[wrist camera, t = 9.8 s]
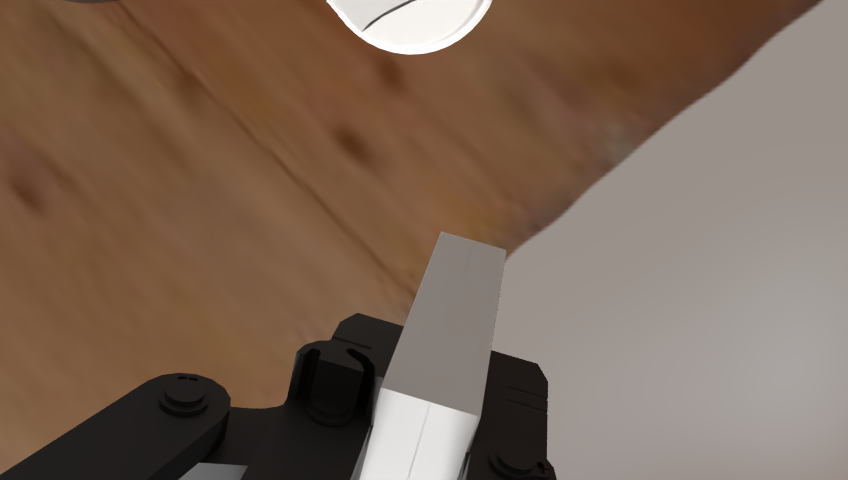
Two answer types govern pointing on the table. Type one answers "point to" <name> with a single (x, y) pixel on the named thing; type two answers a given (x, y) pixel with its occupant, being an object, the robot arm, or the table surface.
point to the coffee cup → (410, 22)
